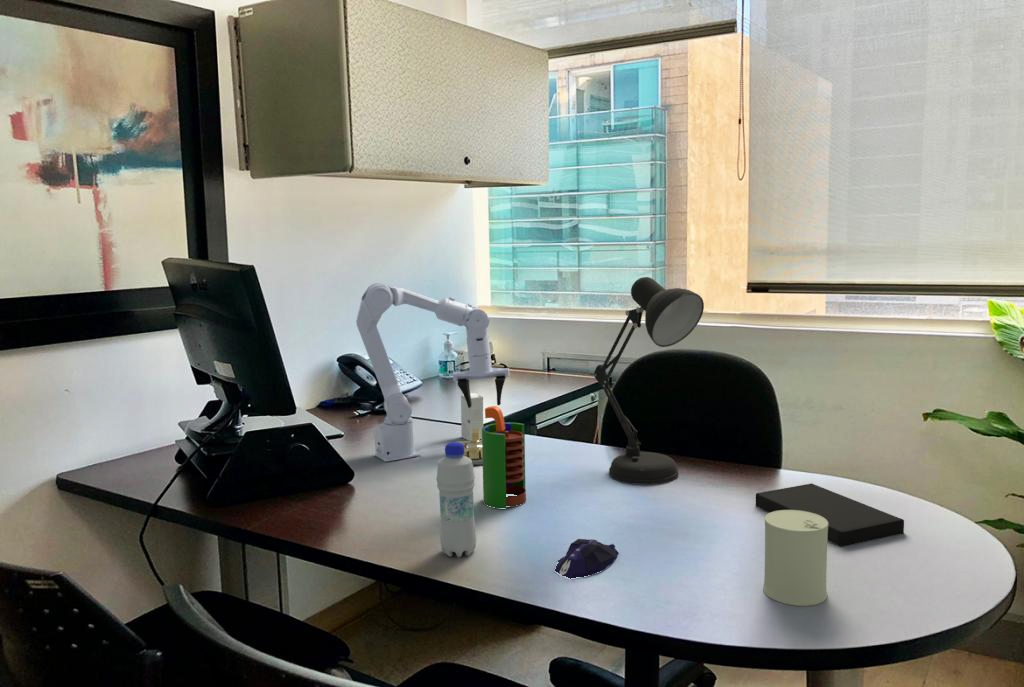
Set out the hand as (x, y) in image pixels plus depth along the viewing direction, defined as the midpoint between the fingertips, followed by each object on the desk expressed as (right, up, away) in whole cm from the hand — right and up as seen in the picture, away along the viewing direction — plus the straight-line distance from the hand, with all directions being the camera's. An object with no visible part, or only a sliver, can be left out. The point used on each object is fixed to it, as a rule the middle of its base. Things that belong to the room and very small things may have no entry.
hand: (484, 405), depth 209 cm
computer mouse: (+19, -21, -73) cm, 78 cm away
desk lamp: (+38, -14, -26) cm, 48 cm away
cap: (-2, -13, -9) cm, 15 cm away
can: (+50, -22, -86) cm, 102 cm away
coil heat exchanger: (+6, -17, -41) cm, 45 cm away
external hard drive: (+67, -18, -57) cm, 89 cm away
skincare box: (-4, -10, +11) cm, 15 cm away
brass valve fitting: (-2, -11, -8) cm, 14 cm away
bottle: (-2, -21, -67) cm, 70 cm away
